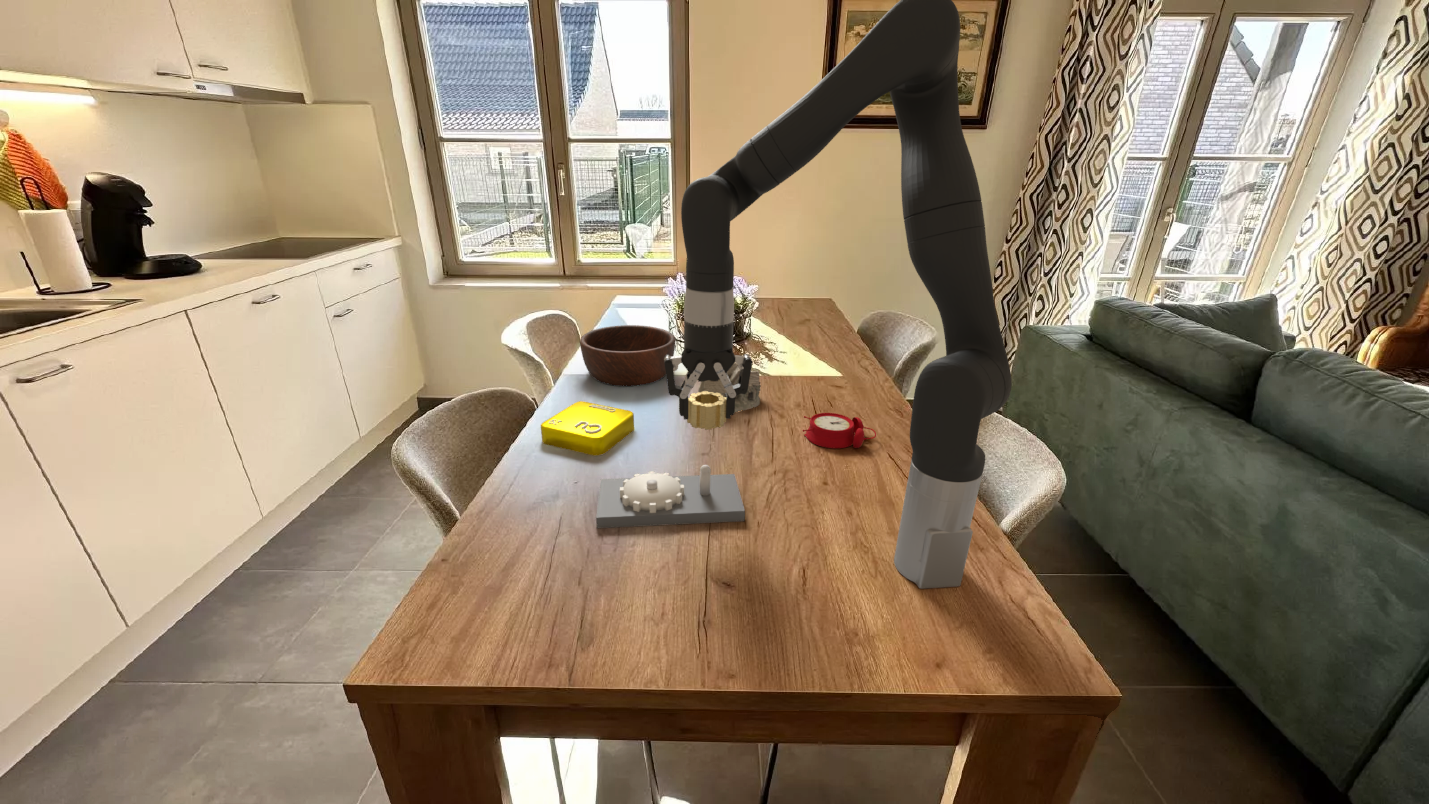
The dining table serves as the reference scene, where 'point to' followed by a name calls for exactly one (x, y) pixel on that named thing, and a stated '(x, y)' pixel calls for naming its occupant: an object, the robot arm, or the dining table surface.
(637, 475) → the gear board
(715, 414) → the brass gear
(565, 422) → the element tile
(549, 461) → the dining table surface
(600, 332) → the wooden bowl
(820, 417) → the alarm clock
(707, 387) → the ceramic cottage
